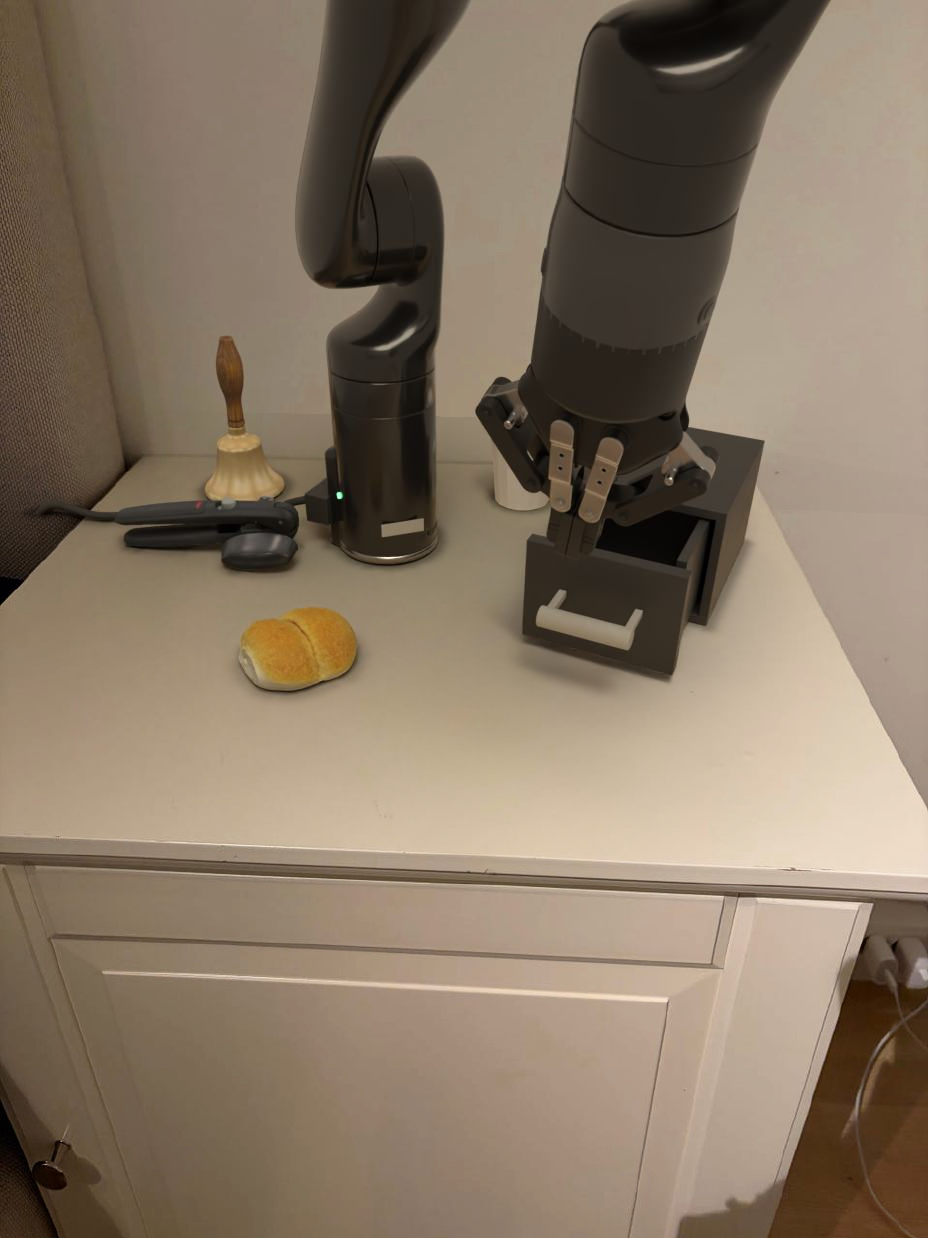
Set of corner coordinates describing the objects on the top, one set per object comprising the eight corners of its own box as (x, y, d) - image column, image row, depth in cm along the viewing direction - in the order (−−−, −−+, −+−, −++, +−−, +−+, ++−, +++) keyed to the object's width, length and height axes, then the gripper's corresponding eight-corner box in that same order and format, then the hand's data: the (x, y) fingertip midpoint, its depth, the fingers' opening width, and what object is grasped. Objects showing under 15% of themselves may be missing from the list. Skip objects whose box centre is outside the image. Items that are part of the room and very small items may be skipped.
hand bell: (206, 474, 101) (182, 326, 92) (284, 469, 102) (268, 322, 93) (202, 509, 94) (176, 354, 85) (286, 503, 95) (268, 349, 86)
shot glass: (550, 516, 93) (554, 452, 90) (483, 509, 95) (484, 445, 91) (558, 486, 99) (563, 424, 95) (494, 480, 100) (497, 419, 96)
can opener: (313, 541, 89) (308, 488, 86) (290, 579, 83) (284, 523, 80) (140, 524, 91) (128, 472, 88) (105, 560, 86) (92, 506, 82)
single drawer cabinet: (706, 626, 78) (727, 513, 72) (554, 587, 83) (562, 479, 77) (743, 542, 90) (764, 440, 84) (608, 513, 94) (619, 414, 88)
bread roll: (375, 668, 73) (373, 626, 70) (268, 708, 69) (262, 665, 66) (328, 617, 78) (324, 577, 76) (226, 651, 74) (220, 610, 72)
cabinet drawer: (656, 710, 67) (672, 609, 62) (499, 664, 72) (503, 567, 67) (714, 584, 82) (732, 494, 77) (581, 553, 86) (589, 465, 81)
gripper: (798, 285, 41) (697, 542, 55) (520, 202, 43) (492, 467, 57) (757, 386, 37) (659, 636, 51) (453, 288, 39) (440, 551, 53)
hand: (570, 546), depth 54 cm, fingers closed
